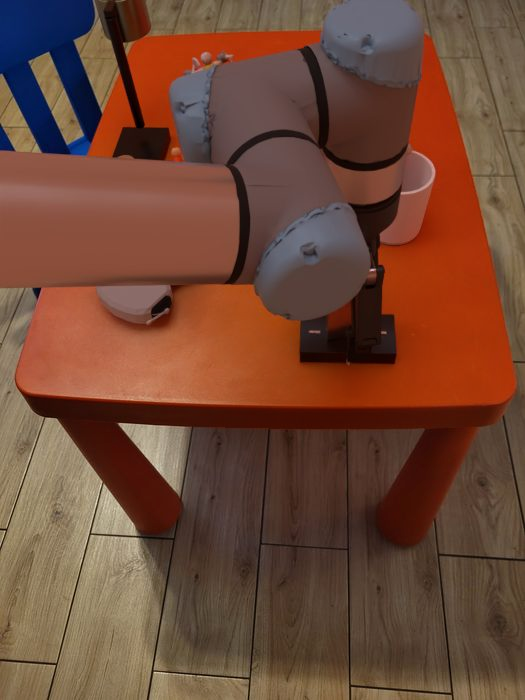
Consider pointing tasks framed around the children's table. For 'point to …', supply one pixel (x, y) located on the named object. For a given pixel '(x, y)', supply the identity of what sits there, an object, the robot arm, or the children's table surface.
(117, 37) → the lamp
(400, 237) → the mug
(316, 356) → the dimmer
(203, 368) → the children's table surface
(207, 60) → the toy airplane
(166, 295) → the robot toy
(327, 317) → the small card box
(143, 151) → the lamp base
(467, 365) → the children's table surface
